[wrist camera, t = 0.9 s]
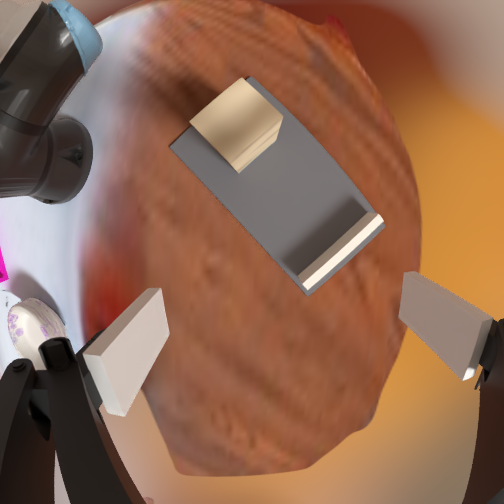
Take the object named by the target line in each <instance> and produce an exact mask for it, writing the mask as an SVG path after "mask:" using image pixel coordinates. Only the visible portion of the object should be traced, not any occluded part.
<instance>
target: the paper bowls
mask: <svg viewBox="0 0 504 504" xmlns="http://www.w3.org/2000/svg"><path fill="white" fill-rule="evenodd" d="M8 329H9V333H10V336H11V339H12V341H13V344H14V346H15V348H16V350H17V351H18V353H19V355H20V356H21V357H22V358H28V359H30V360H31V361H32V363H33V365H34V367H35V370H46V368H45V366H44V363H43V361H42V359H41V356H40V354H39V351H38V348H39V346H40V345H41V344H42V343H43V342H44V341H46V340H48V339H51V338H55V337H65V338H67V334H66V330H65V327H64V325H63V323H62V321H61V319H60V318H59V316H58V315H57V314H56V313H55V312H54V311H53V310H52V309H51V308H49V307H48V306H47V305H46V304H45V303H44V302H42V301H40V300H39V299H36V298H32V297H31V298H28V299H26V300H24V301H22V302H20V303H18V304H16V305H14V306H13V307H11V309H10V311H9V314H8Z"/></svg>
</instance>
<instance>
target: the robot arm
mask: <svg viewBox="0 0 504 504" xmlns="http://www.w3.org/2000/svg"><path fill="white" fill-rule="evenodd" d="M102 47H103V43H102V39H101V37H100V35H99V33H98V32H97V30H96V29H95V28H94V26H93V25H92V24H91V23H90V21H89V20H88V19H87V18H86V17H85V16H84V15H83V14H82V13H81V12H80V11H79V10H77V9H75V8H74V7H73V6H72V5H71V4H70V3H68V2H67V1H66V0H53V1H51V2H50V3H49V4H48V5H47V4H45V3H44V2H42V1H41V0H37V1H33V2H30V3H27V4H19V3H17V2H16V1H14V0H0V198H7V197H17V196H30V197H32V198H34V199H37V200H39V201H41V202H43V203H46V204H62V203H65V202H68V201H70V200H71V199H73V198H74V197H75V196H76V195H77V194H78V193H79V192H80V190H81V189H82V187H83V186H84V184H85V182H86V180H87V178H88V175H89V173H90V169H91V165H92V159H93V146H92V140H91V137H90V134H89V132H88V130H87V129H86V128H85V126H84V125H82V124H81V123H79V122H77V121H74V120H71V119H58V120H53V118H54V117H55V115H56V114H57V112H58V111H59V109H60V108H61V106H62V105H63V103H64V102H65V100H66V99H67V97H68V96H69V95H70V93H71V92H72V90H73V89H74V88H75V86H76V85H77V84H78V82H79V81H80V80H81V78H82V77H83V76H85V75H86V74H87V72H88V69H89V68H90V66H91V65H92V64H93V62H94V61H95V60H96V59H97V57H98V56H99V55H100V53H101V51H102ZM52 120H53V121H52ZM399 318H400V319H401V320H402V321H403V322H404V323H405V324H406V325H407V326H408V327H409V328H410V329H411V330H412V331H413V332H414V333H416V335H417V336H419V338H421V339H422V340H423V341H424V342H425V343H426V344H427V345H428V346H429V347H430V348H431V349H432V350H433V351H434V352H435V353H436V354H437V355H438V356H439V357H440V358H441V359H442V360H443V361H444V362H445V363H446V364H447V365H448V366H449V367H450V369H451V370H452V371H453V372H454V373H455V374H456V375H457V376H458V377H459V378H460V379H461V380H462V381H463V380H466V379H468V378H470V377H473V376H474V375H475V372H476V369H477V367H478V364H480V365H481V366H482V367H483V369H482V372H481V374H480V376H479V379H478V381H477V384H476V386H475V390H476V389H477V387H478V386H479V385H480V389H479V390H480V407H479V421H478V431H477V439H476V446H475V452H474V459H473V464H472V469H471V474H470V478H469V482H468V486H467V490H466V493H465V497H464V500H463V502H462V504H504V319H500V320H499V321H498V322H497V321H495V320H494V319H493V317H491V316H490V315H488V314H486V313H485V312H483V311H482V310H480V309H479V308H477V307H475V306H474V305H472V304H470V303H469V302H467V301H465V300H464V299H462V298H461V297H459V296H457V295H455V294H454V293H452V292H450V291H449V290H447V289H445V288H444V287H442V286H440V285H438V284H437V283H435V282H433V281H431V280H429V279H428V278H426V277H424V276H422V275H421V274H419V273H417V272H415V271H413V272H404V278H403V288H402V296H401V304H400V311H399ZM168 336H169V329H168V324H167V319H166V314H165V308H164V302H163V297H162V290H161V288H148V289H146V290H145V291H144V292H143V293H142V294H141V295H140V296H139V297H138V298H137V299H136V300H135V301H134V302H133V303H132V304H131V305H130V306H129V307H128V308H127V309H126V310H125V311H124V312H123V313H122V314H121V315H120V316H119V317H118V318H117V319H116V320H115V321H114V322H113V323H112V324H111V325H110V326H109V327H108V328H105V329H103V330H102V331H100V332H98V333H96V334H95V335H94V336H93V337H92V338H91V340H89V341H88V342H87V343H86V345H84V346H83V347H82V348H81V349H80V350H79V351H78V352H77V353H76V354H74V351H73V348H72V345H71V343H70V340H69V339H68V338H65V337H55V338H51V339H48V340H46V341H44V342H43V343H42V344H41V345H40V346H39V348H38V351H39V354H40V356H41V359H42V361H43V363H44V366H45V368H46V370H35V367H34V365H33V363H32V361H31V360H30V359H28V358H22V359H16V360H14V361H13V362H12V363H10V364H9V365H8V366H7V368H6V370H5V372H4V374H3V376H2V378H1V380H0V504H55V501H54V467H55V450H56V453H57V458H58V462H59V466H60V470H61V474H62V478H63V481H64V484H65V488H66V491H67V494H68V497H69V500H70V503H71V504H146V502H145V501H144V499H143V498H142V496H141V494H140V493H139V491H138V490H137V488H136V486H135V484H134V483H133V481H132V479H131V477H130V476H129V474H128V472H127V470H126V468H125V466H124V464H123V462H122V460H121V458H120V456H119V454H118V452H117V450H116V448H115V445H114V443H113V441H112V439H111V437H110V434H109V432H108V430H107V427H106V425H105V422H104V420H103V417H102V415H101V413H100V411H99V407H100V405H101V404H102V402H103V404H104V406H105V408H106V410H107V412H108V413H109V414H114V415H119V416H124V417H125V416H126V414H127V412H128V410H129V408H130V406H131V404H132V402H133V401H134V398H135V397H136V395H137V393H138V391H139V389H140V387H141V385H142V384H143V382H144V380H145V378H146V376H147V374H148V372H149V371H150V369H151V367H152V365H153V363H154V361H155V360H156V358H157V356H158V354H159V352H160V351H161V349H162V347H163V345H164V343H165V342H166V340H167V338H168Z"/></svg>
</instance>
